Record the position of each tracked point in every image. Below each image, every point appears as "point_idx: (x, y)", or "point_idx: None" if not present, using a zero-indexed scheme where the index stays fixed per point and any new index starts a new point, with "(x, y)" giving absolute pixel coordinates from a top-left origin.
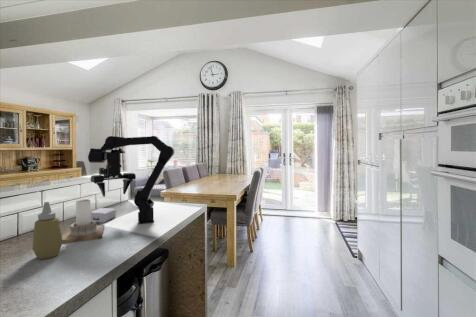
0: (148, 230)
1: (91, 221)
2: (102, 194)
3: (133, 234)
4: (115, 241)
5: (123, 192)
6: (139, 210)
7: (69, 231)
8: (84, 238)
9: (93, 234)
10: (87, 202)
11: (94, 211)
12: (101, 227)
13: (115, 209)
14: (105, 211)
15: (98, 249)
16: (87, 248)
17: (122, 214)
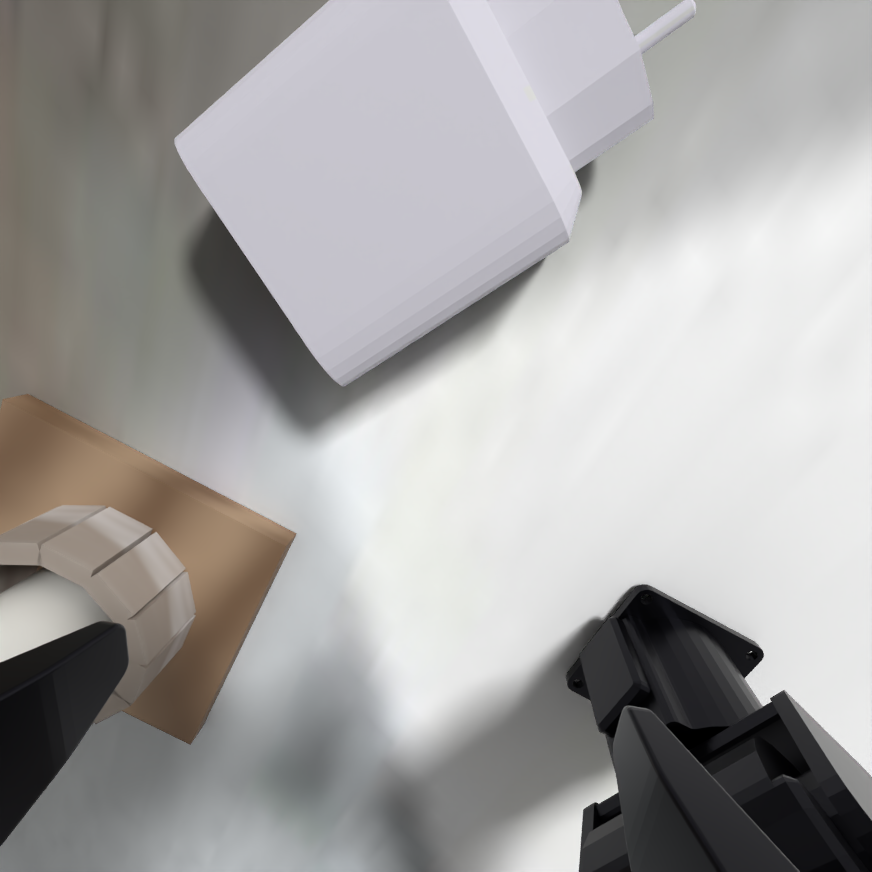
0: (501, 834)
1: (115, 619)
2: (37, 661)
3: (384, 816)
4: (248, 824)
5: (633, 757)
6: (585, 813)
7: (15, 487)
8: None
9: (150, 691)
10: None
11: (262, 160)
12: (244, 589)
13: (688, 6)
14: (379, 301)
15: (142, 843)
16: (100, 794)
17: (699, 173)
